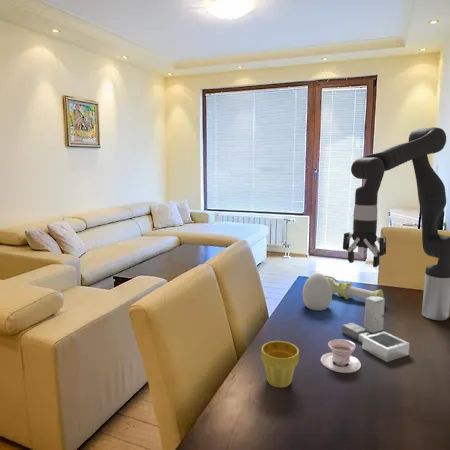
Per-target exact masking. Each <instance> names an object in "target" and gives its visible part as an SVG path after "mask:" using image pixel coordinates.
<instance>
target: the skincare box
mask: <svg viewBox="0 0 450 450" xmlns="http://www.w3.org/2000/svg"><path fill="white" fill-rule="evenodd" d="M364 301H365V304H364V319H363V320H364V321H363V328H365V329H367V332H368V333H370V334H376V333H379V332H382V331H384V318H385V317H384V316H385V305H386V304H385V302H386V300H385V297H383V298H382V297H378V296H372V297H368V298H366V299H365V300H364Z"/></svg>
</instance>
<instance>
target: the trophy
mask: <svg viewBox="0 0 450 450" xmlns="http://www.w3.org/2000/svg"><path fill="white" fill-rule="evenodd" d="M323 275H324V274H323ZM324 276H325V277H326V278H327V279H328V281H329V283H330V285H331V289H332V296H333V295H334V294H337V296H338V297H339V298H340V297H343V298H344V299H345V300H346V299H347V300H348V299H350V298H351V297H353V298H355V299H360V300H363V301H365V299H366V298H368V297H372V296H378V297H382V298H384V292H383V290H382V289H378V290H377V289H376V290H373V291H372V290H368V289H364V288H359V287H355V286H353V284H352V282H351V281H349V282H344V281H343V280H342V281H340V282H339V281H338V280H337V279H336V278H335V277H332V276H330V275H329V276H328V275H324Z"/></svg>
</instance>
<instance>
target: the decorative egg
mask: <svg viewBox="0 0 450 450" xmlns="http://www.w3.org/2000/svg"><path fill="white" fill-rule="evenodd" d="M325 276H326V275H325ZM325 276H324V274H322V273H321V272H314V273H313V274H310V276H309V277H308V278H307V279H306V281H305V282H304V284H303V288H302V301H303V303H304V305H305V307H307V309H310V310H311V311H326V310H327V309H328V307H330V305H331V303H332V300H333V299H332V298H333V295H332V289H331V285H330V283H329V281H328V279H327V278H326V277H325Z"/></svg>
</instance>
